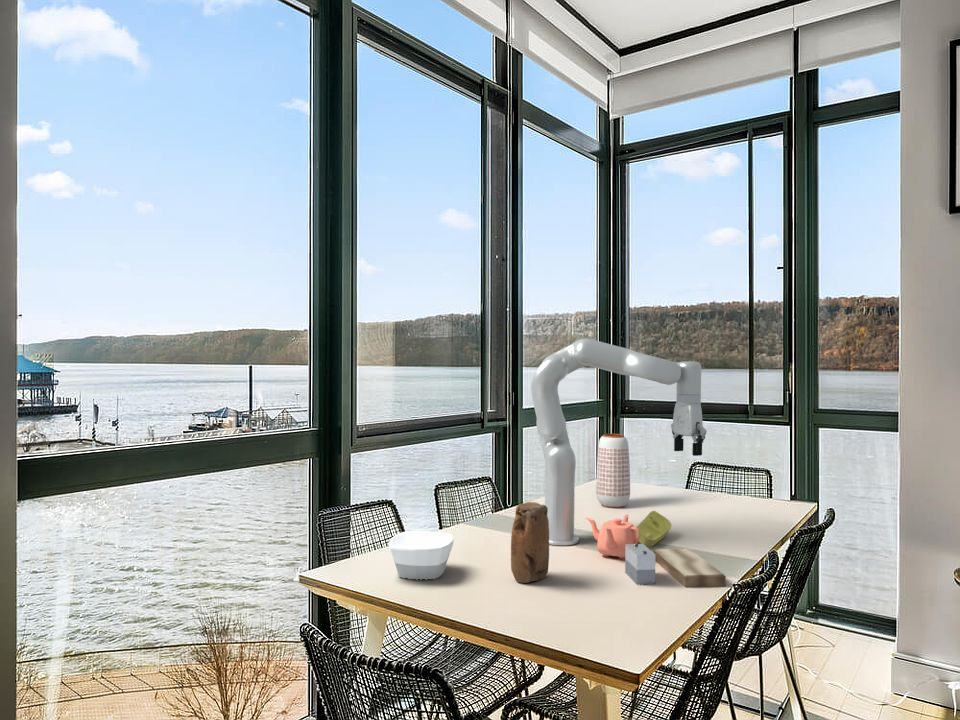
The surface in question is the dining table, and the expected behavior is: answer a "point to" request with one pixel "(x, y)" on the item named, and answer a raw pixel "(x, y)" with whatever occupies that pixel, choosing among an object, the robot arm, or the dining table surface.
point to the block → (530, 542)
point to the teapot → (615, 536)
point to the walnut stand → (689, 568)
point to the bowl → (421, 553)
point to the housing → (640, 563)
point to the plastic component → (653, 529)
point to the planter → (613, 471)
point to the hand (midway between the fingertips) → (687, 453)
